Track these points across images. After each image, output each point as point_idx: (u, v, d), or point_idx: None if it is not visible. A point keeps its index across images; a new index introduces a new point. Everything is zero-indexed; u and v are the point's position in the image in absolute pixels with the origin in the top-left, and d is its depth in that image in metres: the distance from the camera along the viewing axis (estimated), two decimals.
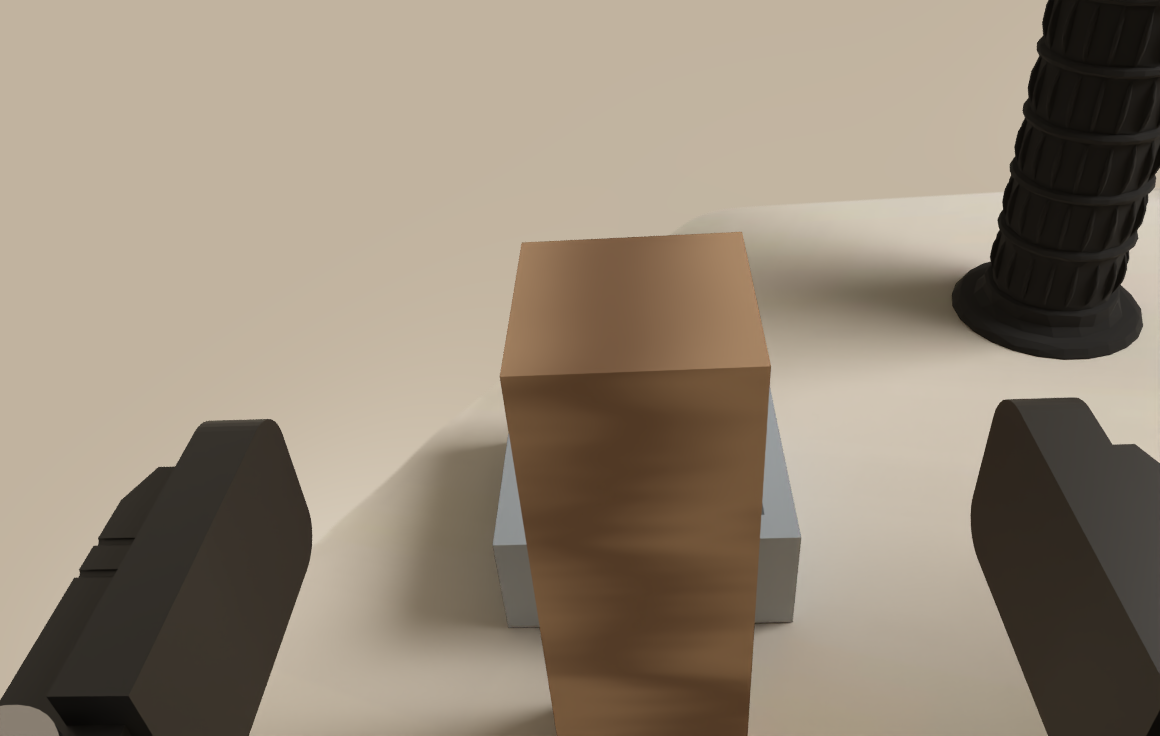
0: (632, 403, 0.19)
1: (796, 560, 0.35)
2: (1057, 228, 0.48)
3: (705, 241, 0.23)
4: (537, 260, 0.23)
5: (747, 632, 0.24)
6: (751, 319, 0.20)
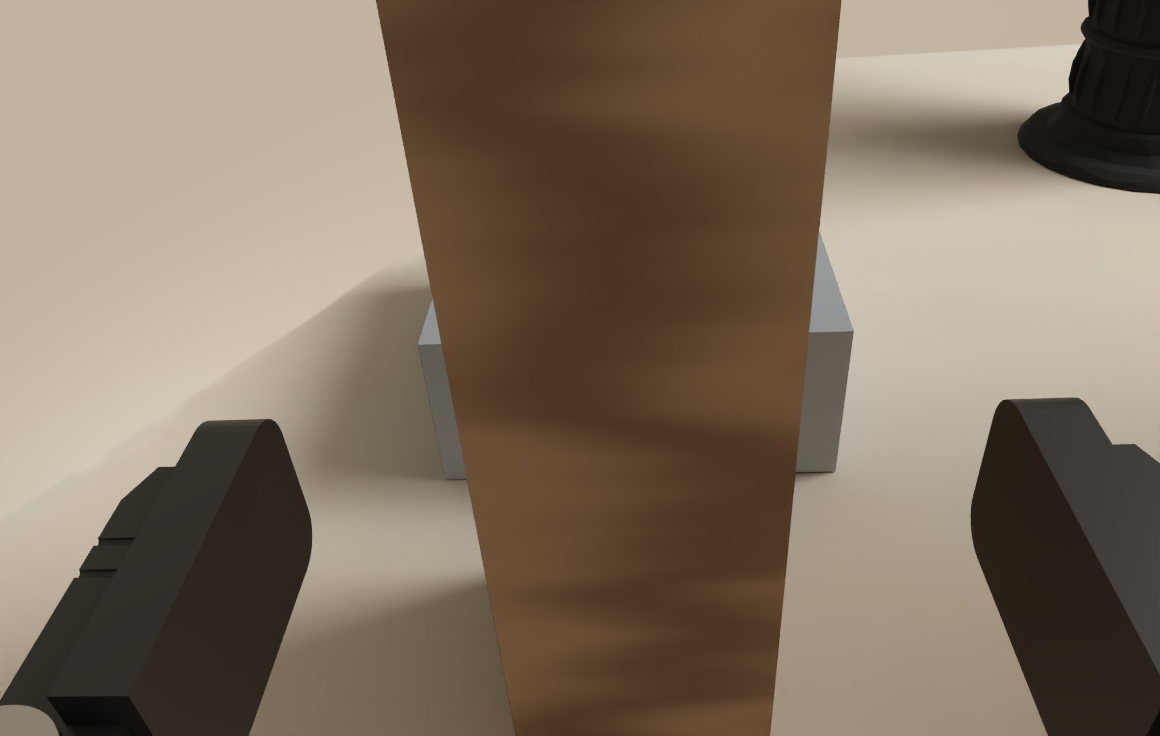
0: None
1: (845, 370, 0.25)
2: None
3: None
4: None
5: (798, 325, 0.14)
6: None
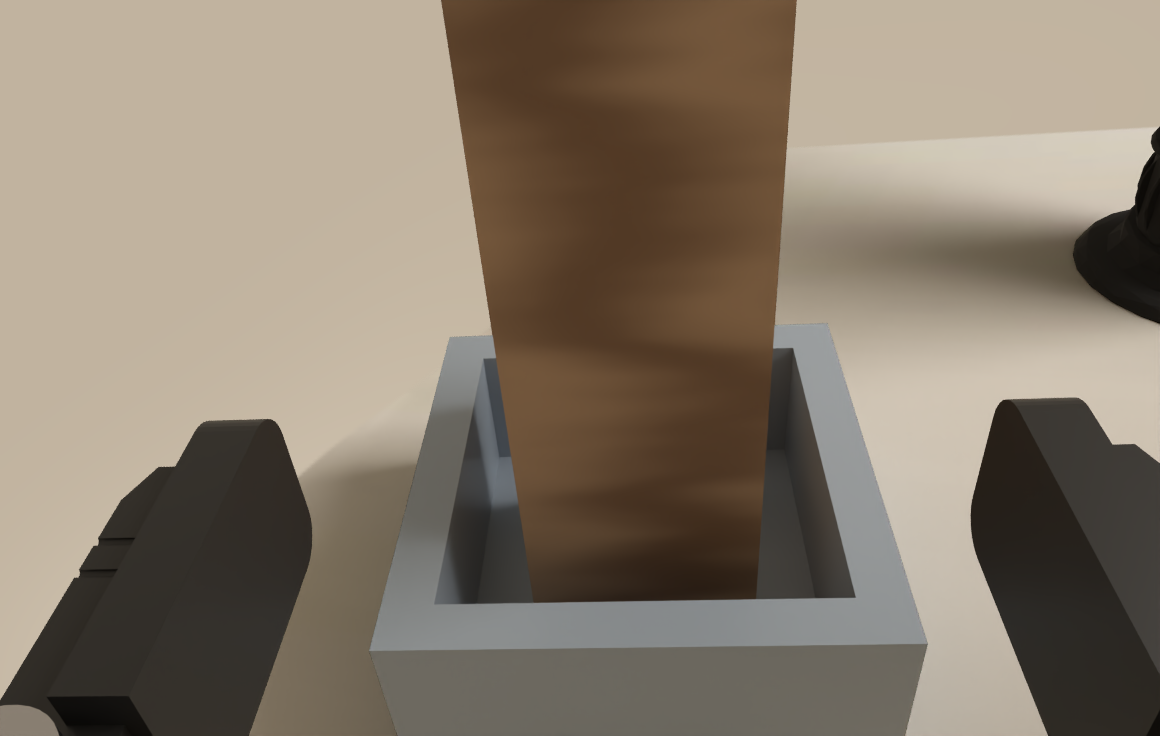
0: None
1: (913, 681, 0.20)
2: None
3: None
4: None
5: (769, 260, 0.17)
6: None
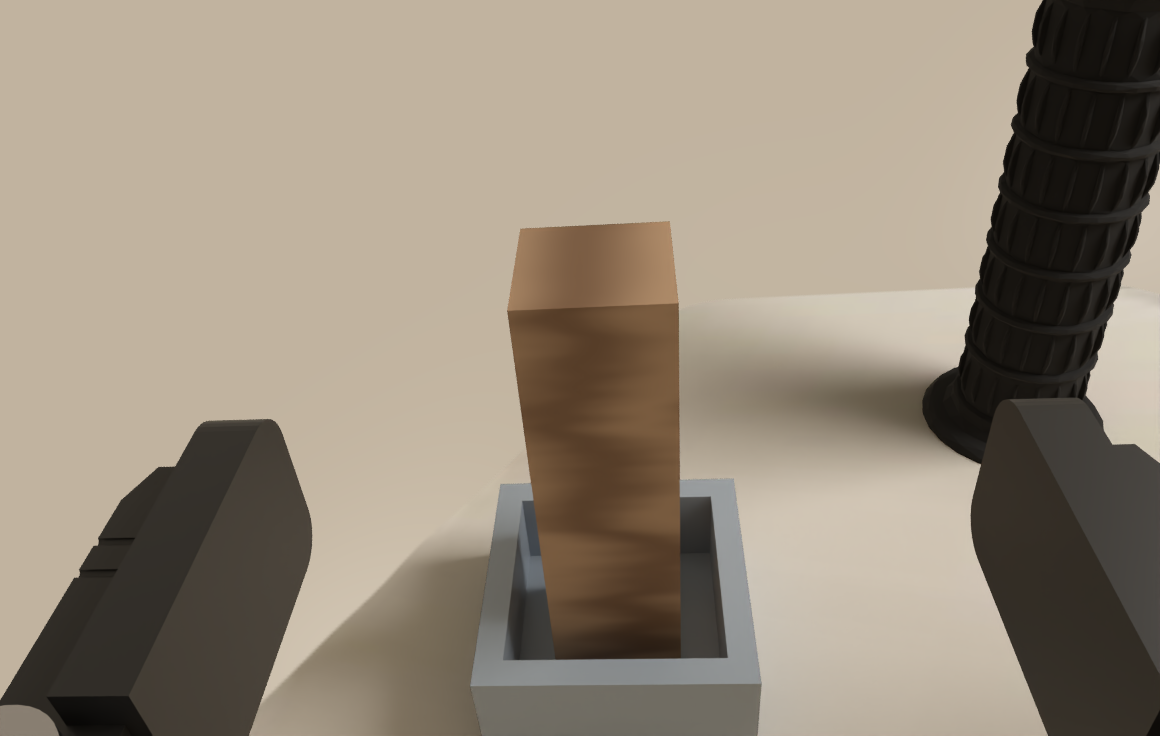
0: (592, 328, 0.30)
1: (757, 703, 0.37)
2: (1019, 352, 0.50)
3: (644, 227, 0.34)
4: (531, 240, 0.34)
5: (675, 496, 0.35)
6: (669, 275, 0.31)
